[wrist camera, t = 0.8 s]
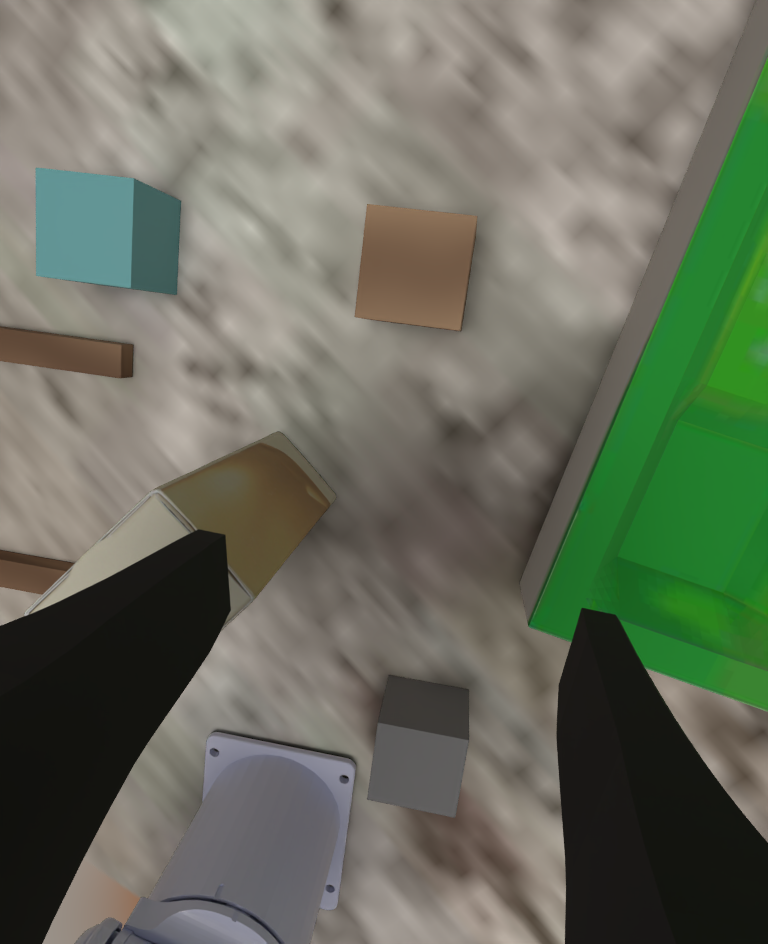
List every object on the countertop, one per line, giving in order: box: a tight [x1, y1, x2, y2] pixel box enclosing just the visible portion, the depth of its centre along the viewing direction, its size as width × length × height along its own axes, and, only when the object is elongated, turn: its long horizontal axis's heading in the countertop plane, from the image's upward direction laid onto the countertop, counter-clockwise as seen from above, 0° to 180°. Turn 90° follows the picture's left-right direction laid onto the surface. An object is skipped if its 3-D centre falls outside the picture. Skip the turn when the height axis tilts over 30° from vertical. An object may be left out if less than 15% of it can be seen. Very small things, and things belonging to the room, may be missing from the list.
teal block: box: [36, 168, 181, 295], centre depth 26 cm, size 4×4×4 cm
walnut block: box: [355, 204, 477, 331], centre depth 24 cm, size 4×4×4 cm
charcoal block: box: [367, 675, 469, 818], centre depth 29 cm, size 4×4×4 cm
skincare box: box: [24, 432, 336, 631], centre depth 23 cm, size 6×4×12 cm
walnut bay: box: [0, 326, 133, 595], centre depth 30 cm, size 13×12×1 cm
